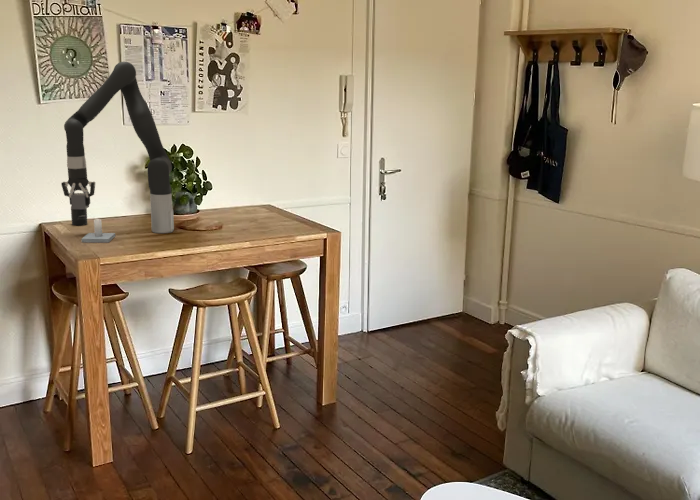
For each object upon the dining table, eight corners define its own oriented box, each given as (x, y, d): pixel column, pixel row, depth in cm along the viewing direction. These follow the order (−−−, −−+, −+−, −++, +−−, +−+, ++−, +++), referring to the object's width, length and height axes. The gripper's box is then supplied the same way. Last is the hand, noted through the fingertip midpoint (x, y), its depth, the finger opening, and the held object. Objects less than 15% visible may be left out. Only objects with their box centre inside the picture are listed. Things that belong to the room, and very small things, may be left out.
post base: (115, 236, 306) (114, 217, 303) (108, 242, 295) (107, 222, 293) (89, 236, 305) (88, 216, 303) (81, 242, 294) (80, 222, 292)
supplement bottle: (82, 226, 322) (80, 200, 319) (68, 225, 324) (66, 199, 321) (90, 223, 329) (88, 198, 326) (77, 222, 330) (75, 197, 327)
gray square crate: (89, 206, 307) (87, 193, 306) (85, 209, 302) (84, 195, 300) (75, 206, 307) (74, 193, 305) (71, 209, 301) (70, 195, 300)
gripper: (96, 165, 304) (99, 204, 308) (62, 165, 303) (66, 204, 307) (91, 167, 297) (94, 207, 301) (56, 167, 296) (60, 207, 300)
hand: (80, 205), depth 304 cm, fingers closed on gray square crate, 5 cm apart
